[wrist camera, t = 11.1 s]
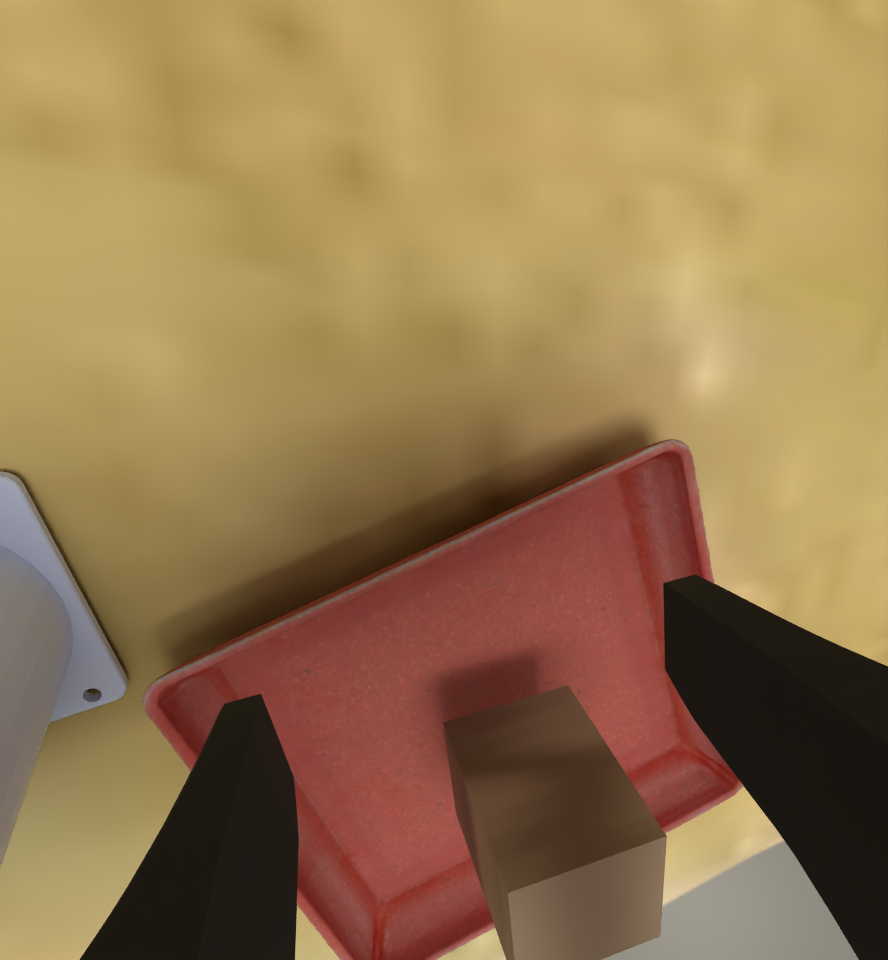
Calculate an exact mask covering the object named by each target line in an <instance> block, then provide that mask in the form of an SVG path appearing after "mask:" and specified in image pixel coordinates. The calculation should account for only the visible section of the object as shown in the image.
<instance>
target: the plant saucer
mask: <svg viewBox="0 0 888 960" xmlns="http://www.w3.org/2000/svg"><path fill="white" fill-rule="evenodd" d="M694 574H695V575H698V576H700V577H702V578H704V579H706V580H708V581H710V582H712V583H714V579H713V575H712V569H711V563H710V553H709V549H708V545H707V540H706V533H705V527H704V522H703V513H702V509H701V504H700V496H699V489H698V485H697V481H696V475H695V467H694V462H693V458H692V454H691V452H690V450H689V447H688V446H687V445H686V444H684V443H683V442H681V441H679V440H675V439H670V440H665V441H660V442H658V443H655V444H652V445H649V446H646V447H644V448H641V449H639V450H636V451H634V452H631V453H629V454H627V455H624V456H622V457H620V458H618V459H616V460H614V461H611V462H609V463H607V464H605V465H603V466H601V467H598V468H596V469H594V470H592V471H590V472H587V473H585V474H583V475H581V476H579V477H577V478H575V479H572V480H570V481H568V482H566V483H564V484H562V485H560V486H558V487H556V488H553V489H551V490H549V491H547V492H545V493H543V494H541V495H539V496H537V497H535V498H532V499H530V500H528V501H526V502H524V503H522V504H520V505H518V506H516V507H514V508H512V509H509V510H507V511H505V512H503V513H501V514H499V515H496V516H494V517H492V518H490V519H488V520H486V521H484V522H482V523H480V524H478V525H475V526H473V527H471V528H469V529H467V530H465V531H463V532H461V533H458V534H456V535H454V536H452V537H450V538H448V539H445V540H443V541H441V542H439V543H437V544H435V545H432V546H430V547H428V548H426V549H424V550H422V551H420V552H418V553H415V554H413V555H411V556H409V557H407V558H405V559H403V560H400V561H398V562H396V563H394V564H392V565H390V566H388V567H385V568H383V569H381V570H379V571H377V572H375V573H372V574H370V575H368V576H366V577H364V578H362V579H360V580H358V581H356V582H354V583H351V584H349V585H347V586H345V587H343V588H340V589H338V590H336V591H334V592H332V593H330V594H328V595H326V596H324V597H322V598H319V599H317V600H315V601H313V602H311V603H309V604H306V605H304V606H302V607H300V608H298V609H296V610H294V611H292V612H289V613H287V614H285V615H283V616H281V617H279V618H276V619H274V620H272V621H270V622H268V623H266V624H264V625H261V626H259V627H257V628H255V629H253V630H250V631H248V632H246V633H244V634H242V635H240V636H238V637H236V638H234V639H232V640H230V641H228V642H225V643H223V644H221V645H219V646H217V647H215V648H213V649H211V650H209V651H207V652H205V653H203V654H201V655H198V656H196V657H194V658H192V659H190V660H188V661H186V662H184V663H183V664H181V665H179V666H177V667H176V668H174V669H172V670H171V671H169V672H167V673H166V674H164V675H162V676H161V677H159V678H158V679H156V680H155V681H154V682H153V683H151V684H150V685H149V687H148V688H147V690H146V691H145V693H144V697H143V700H142V703H143V706H144V709H145V712H146V713H147V715H148V717H149V718H150V719H151V720H152V722H153V723H154V724H155V725H156V726H157V728H158V729H159V730H160V731H161V733H162V734H163V735H164V737H165V738H166V739H167V740H168V741H169V743H170V744H171V746H172V747H173V749H174V750H175V751H176V752H177V754H178V755H179V756H180V757H181V759H182V760H183V761H184V763H185V764H186V765H187V767H188V768H189V769H190V771H192V769H193V767H194V765H195V762H196V760H197V758H198V756H199V754H200V752H201V750H202V748H203V746H204V744H205V742H206V740H207V737H208V735H209V733H210V731H211V729H212V727H213V724H214V722H215V720H216V718H217V716H218V714H219V712H220V710H221V708H222V707H223V705H224V704H225V703H229V702H232V701H236V700H239V699H243V698H247V697H250V696H254V695H258V694H262V697H263V699H264V702H265V705H266V707H267V710H268V712H269V715H270V717H271V720H272V722H273V725H274V728H275V730H276V733H277V735H278V738H279V740H280V743H281V745H282V748H283V751H284V753H285V756H286V758H287V761H288V763H289V766H290V768H291V771H292V774H293V776H294V783H295V795H296V806H297V819H298V834H299V852H298V884H297V906H298V907H299V908H300V909H301V910H302V912H303V913H304V914H305V915H306V917H307V918H308V920H309V921H310V922H311V923H312V924H313V926H314V927H315V929H316V930H317V931H318V932H319V933H320V934H321V936H322V937H323V938H324V940H325V941H326V942H327V944H328V945H329V946H330V948H331V949H332V950H333V951H334V952H335V953H336V955H337V956H338V957H339V959H340V960H436V959H438V958H440V957H442V956H443V955H445V954H447V953H449V952H451V951H453V950H455V949H456V948H458V947H460V946H462V945H464V944H466V943H468V942H469V941H471V940H473V939H475V938H477V937H478V936H480V935H482V934H484V933H486V932H488V931H490V930H491V929H493V928H495V925H494V922H493V919H492V916H491V913H490V910H489V908H488V905H487V902H486V899H485V896H484V893H483V890H482V887H481V884H480V882H479V879H478V876H477V873H476V870H475V867H474V864H473V861H472V858H471V856H470V853H469V850H468V847H467V844H466V841H465V838H464V835H463V832H462V830H461V827H460V824H459V821H458V818H457V815H456V810H455V803H454V796H453V789H452V782H451V775H450V768H449V761H448V754H447V747H446V740H445V733H444V726H443V722H446V721H449V720H453V719H456V718H459V717H463V716H466V715H469V714H473V713H476V712H480V711H483V710H486V709H490V708H493V707H496V706H500V705H503V704H506V703H510V702H513V701H516V700H520V699H523V698H527V697H530V696H533V695H537V694H540V693H543V692H547V691H550V690H553V689H557V688H560V687H563V686H567V685H568V686H569V687H570V689H571V690H572V692H573V693H574V695H575V696H576V698H577V699H578V701H579V702H580V704H581V705H582V707H583V709H584V710H585V712H586V713H587V715H588V716H589V718H590V719H591V721H592V722H593V724H594V725H595V727H596V728H597V730H598V732H599V733H600V735H601V736H602V738H603V739H604V741H605V742H606V744H607V745H608V747H609V748H610V750H611V752H612V753H613V755H614V756H615V758H616V759H617V761H618V762H619V764H620V765H621V767H622V768H623V770H624V771H625V773H626V775H627V776H628V778H629V779H630V781H631V782H632V784H633V785H634V787H635V788H636V790H637V791H638V793H639V794H640V796H641V798H642V799H643V801H644V802H645V804H646V805H647V807H648V808H649V810H650V811H651V813H652V814H653V816H654V818H655V819H656V821H657V822H658V824H659V825H660V827H661V828H662V830H663V831H664V833H666V832H669V831H671V830H673V829H675V828H677V827H679V826H680V825H682V824H683V823H685V822H688V821H689V820H691V819H693V818H695V817H697V816H699V815H701V814H702V813H704V812H706V811H708V810H710V809H711V808H713V807H714V806H716V805H718V804H720V803H722V802H724V801H725V800H727V799H729V798H730V797H732V796H734V795H735V794H736V793H737V792H738V791H739V790H740V789H741V788H742V787H743V784H742V783H741V782H740V780H739V779H738V778H737V776H736V775H735V774H734V773H733V771H732V770H731V769H730V767H729V766H728V765H727V763H726V762H725V761H724V759H723V758H722V757H721V755H720V754H719V753H718V751H717V750H716V749H715V747H714V746H713V745H712V743H711V742H710V741H709V739H708V738H707V737H706V735H705V734H704V733H703V731H702V730H701V729H700V727H699V726H698V724H697V723H696V722H695V720H694V719H693V717H692V716H691V714H690V712H689V711H688V709H687V707H686V706H685V704H684V702H683V700H682V699H681V697H680V695H679V694H678V692H677V690H676V688H675V686H674V685H673V683H672V681H671V679H670V678H669V676H668V674H667V672H666V670H665V643H664V595H663V583H665V582H669V581H672V580H676V579H680V578H683V577H687V576H691V575H694Z"/></svg>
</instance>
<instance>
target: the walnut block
mask: <svg viewBox="0 0 888 960" xmlns="http://www.w3.org/2000/svg"><path fill="white" fill-rule="evenodd" d="M443 726H444V733H445V740H446V747H447V754H448V761H449V768H450V775H451V782H452V789H453V796H454V803H455V810H456V815H457V818H458V821H459V824H460V827H461V830H462V832H463V835H464V838H465V841H466V844H467V847H468V850H469V853H470V856H471V858H472V861H473V864H474V867H475V870H476V873H477V876H478V879H479V882H480V884H481V887H482V890H483V893H484V896H485V899H486V902H487V905H488V908H489V910H490V913H491V916H492V919H493V922H494V925H495V928H496V931H497V934H498V936H499V939H500V942H501V945H502V948H503V951H504V954H505V957H506V960H601V959H603V958H606V957H609V956H611V955H614V954H616V953H619V952H621V951H624V950H626V949H629V948H632V947H634V946H637V945H639V944H642V943H644V942H647V941H649V940H652V939H654V938H657V937H660V931H661V915H662V900H663V885H664V869H665V854H666V839H667V836H666V834H665V833H664V831H663V830H662V828H661V827H660V825H659V824H658V822H657V821H656V819H655V818H654V816H653V814H652V813H651V811H650V810H649V808H648V807H647V805H646V804H645V802H644V801H643V799H642V798H641V796H640V794H639V793H638V791H637V790H636V788H635V787H634V785H633V784H632V782H631V781H630V779H629V778H628V776H627V775H626V773H625V771H624V770H623V768H622V767H621V765H620V764H619V762H618V761H617V759H616V758H615V756H614V755H613V753H612V752H611V750H610V748H609V747H608V745H607V744H606V742H605V741H604V739H603V738H602V736H601V735H600V733H599V732H598V730H597V728H596V727H595V725H594V724H593V722H592V721H591V719H590V718H589V716H588V715H587V713H586V712H585V710H584V709H583V707H582V705H581V704H580V702H579V701H578V699H577V698H576V696H575V695H574V693H573V692H572V690H571V689H570V687H569V686H568V685H567V686H563V687H560V688H557V689H553V690H550V691H547V692H543V693H540V694H537V695H533V696H530V697H527V698H523V699H520V700H516V701H513V702H510V703H506V704H503V705H500V706H496V707H493V708H490V709H486V710H483V711H480V712H476V713H473V714H469V715H466V716H463V717H459V718H456V719H453V720H449V721H446V722H443Z"/></svg>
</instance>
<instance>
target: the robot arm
mask: <svg viewBox="0 0 888 960" xmlns="http://www.w3.org/2000/svg"><path fill="white" fill-rule="evenodd" d="M663 595H664V643H665V670H666V672H667V674H668V676H669V678H670V679H671V681H672V683H673V685H674V686H675V688H676V690H677V692H678V694H679V695H680V697H681V699H682V700H683V702H684V704H685V706H686V707H687V709H688V711H689V712H690V714H691V716H692V717H693V719H694V720H695V722H696V723H697V724H698V726H699V727H700V729H701V730H702V731H703V733H704V734H705V735H706V737H707V738H708V739H709V741H710V742H711V743H712V745H713V746H714V747H715V749H716V750H717V751H718V753H719V754H720V755H721V757H722V758H723V759H724V761H725V762H726V763H727V765H728V766H729V767H730V769H731V770H732V771H733V773H734V774H735V775H736V776H737V778H738V779H739V780H740V782H741V783H742V784H743V786H744V787H745V788H746V790H747V791H748V792H749V794H750V795H751V796H752V798H753V799H754V800H755V801H756V803H757V804H758V805H759V807H760V808H761V809H762V811H763V812H764V813H765V815H766V816H767V817H768V819H769V820H770V821H771V823H772V824H773V825H774V826H775V828H776V829H777V830H778V832H779V833H780V835H781V836H782V838H783V839H784V840H785V842H786V843H787V845H788V846H789V848H790V849H791V850H792V852H793V853H794V855H795V856H796V858H797V859H798V861H799V862H800V864H801V866H802V867H803V869H804V871H805V872H806V874H807V875H808V877H809V879H810V880H811V882H812V883H813V885H814V887H815V888H816V890H817V891H818V893H819V894H820V896H821V897H822V899H823V901H824V902H825V904H826V906H827V907H828V909H829V911H830V912H831V914H832V915H833V917H834V919H835V920H836V922H837V924H838V925H839V927H840V929H841V930H842V932H843V934H844V935H845V937H846V939H847V940H848V942H849V944H850V945H851V947H852V949H853V951H854V952H855V954H856V956H857V957H858V959H859V960H888V666H886V665H883V664H881V663H878V662H876V661H874V660H871V659H869V658H867V657H864V656H862V655H860V654H858V653H855V652H853V651H851V650H848V649H846V648H844V647H841V646H839V645H837V644H835V643H833V642H830V641H828V640H826V639H824V638H822V637H820V636H817V635H815V634H813V633H811V632H809V631H807V630H805V629H803V628H801V627H799V626H797V625H795V624H793V623H791V622H789V621H786V620H784V619H782V618H780V617H779V616H777V615H775V614H773V613H771V612H769V611H767V610H765V609H763V608H761V607H759V606H757V605H755V604H753V603H751V602H749V601H747V600H745V599H743V598H741V597H739V596H737V595H735V594H734V593H732V592H730V591H728V590H726V589H724V588H722V587H720V586H718V585H716V584H714V583H712V582H710V581H708V580H706V579H704V578H702V577H700V576H698V575H695V574H694V575H691V576H687V577H683V578H680V579H676V580H672V581H669V582H665V583H663ZM127 685H128V679H127V676H126V674H125V672H124V671H123V669H122V667H121V665H120V663H119V661H118V659H117V657H116V656H115V654H114V652H113V650H112V648H111V646H110V644H109V643H108V641H107V639H106V637H105V635H104V633H103V631H102V630H101V628H100V626H99V624H98V622H97V620H96V618H95V616H94V615H93V613H92V611H91V609H90V607H89V605H88V603H87V602H86V600H85V598H84V596H83V594H82V592H81V590H80V589H79V587H78V585H77V583H76V581H75V579H74V577H73V575H72V574H71V572H70V570H69V568H68V566H67V564H66V562H65V561H64V559H63V557H62V555H61V553H60V551H59V549H58V547H57V546H56V544H55V542H54V540H53V538H52V536H51V534H50V533H49V531H48V529H47V527H46V525H45V523H44V521H43V520H42V518H41V516H40V514H39V512H38V510H37V508H36V506H35V505H34V503H33V501H32V499H31V497H30V495H29V493H28V492H27V490H26V488H25V486H24V484H23V483H22V481H21V480H20V479H19V478H18V477H16V476H15V475H13V474H11V473H7V472H0V867H1V864H2V861H3V858H4V855H5V853H6V850H7V847H8V844H9V841H10V838H11V835H12V832H13V829H14V826H15V823H16V820H17V817H18V814H19V811H20V808H21V805H22V802H23V799H24V796H25V793H26V790H27V787H28V784H29V781H30V778H31V775H32V772H33V769H34V766H35V763H36V760H37V757H38V754H39V751H40V749H41V746H42V743H43V740H44V737H45V734H46V731H47V728H48V725H49V723H50V722H53V721H56V720H59V719H62V718H65V717H68V716H71V715H74V714H77V713H80V712H83V711H86V710H89V709H92V708H95V707H98V706H101V705H104V704H107V703H110V702H113V701H116V700H118V699H119V698H121V697H122V696H123V695H124V694H125V693H126V689H127ZM92 688H94V689H98V690H99V691H100V692H99V693H95V694H92V693H89V692H88V691H86V690H88V689H92ZM298 852H299V834H298V819H297V806H296V795H295V783H294V776H293V774H292V771H291V768H290V766H289V763H288V761H287V758H286V756H285V753H284V751H283V748H282V745H281V743H280V740H279V738H278V735H277V733H276V730H275V728H274V725H273V722H272V720H271V717H270V715H269V712H268V710H267V707H266V705H265V702H264V699H263V697H262V694H258V695H254V696H250V697H247V698H243V699H239V700H236V701H232V702H229V703H225V704H224V705H223V707H222V708H221V710H220V712H219V714H218V716H217V718H216V720H215V722H214V724H213V727H212V729H211V731H210V733H209V735H208V737H207V740H206V742H205V744H204V746H203V748H202V750H201V752H200V754H199V756H198V758H197V760H196V762H195V765H194V767H193V769H192V771H191V773H190V775H189V777H188V779H187V781H186V783H185V785H184V786H183V788H182V790H181V792H180V794H179V796H178V798H177V800H176V802H175V804H174V806H173V808H172V809H171V811H170V813H169V815H168V817H167V819H166V821H165V823H164V825H163V826H162V828H161V830H160V832H159V834H158V835H157V837H156V839H155V841H154V842H153V844H152V846H151V847H150V849H149V851H148V853H147V854H146V856H145V858H144V859H143V861H142V863H141V865H140V866H139V868H138V870H137V871H136V873H135V875H134V877H133V878H132V880H131V882H130V883H129V885H128V887H127V888H126V890H125V892H124V893H123V895H122V896H121V898H120V899H119V901H118V903H117V904H116V906H115V907H114V909H113V911H112V912H111V914H110V915H109V917H108V918H107V920H106V921H105V923H104V924H103V926H102V927H101V929H100V930H99V932H98V933H97V935H96V936H95V938H94V939H93V941H92V942H91V944H90V945H89V947H88V948H87V950H86V951H85V953H84V954H83V955H82V957H81V958H80V960H295V940H296V913H297V884H298Z"/></svg>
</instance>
